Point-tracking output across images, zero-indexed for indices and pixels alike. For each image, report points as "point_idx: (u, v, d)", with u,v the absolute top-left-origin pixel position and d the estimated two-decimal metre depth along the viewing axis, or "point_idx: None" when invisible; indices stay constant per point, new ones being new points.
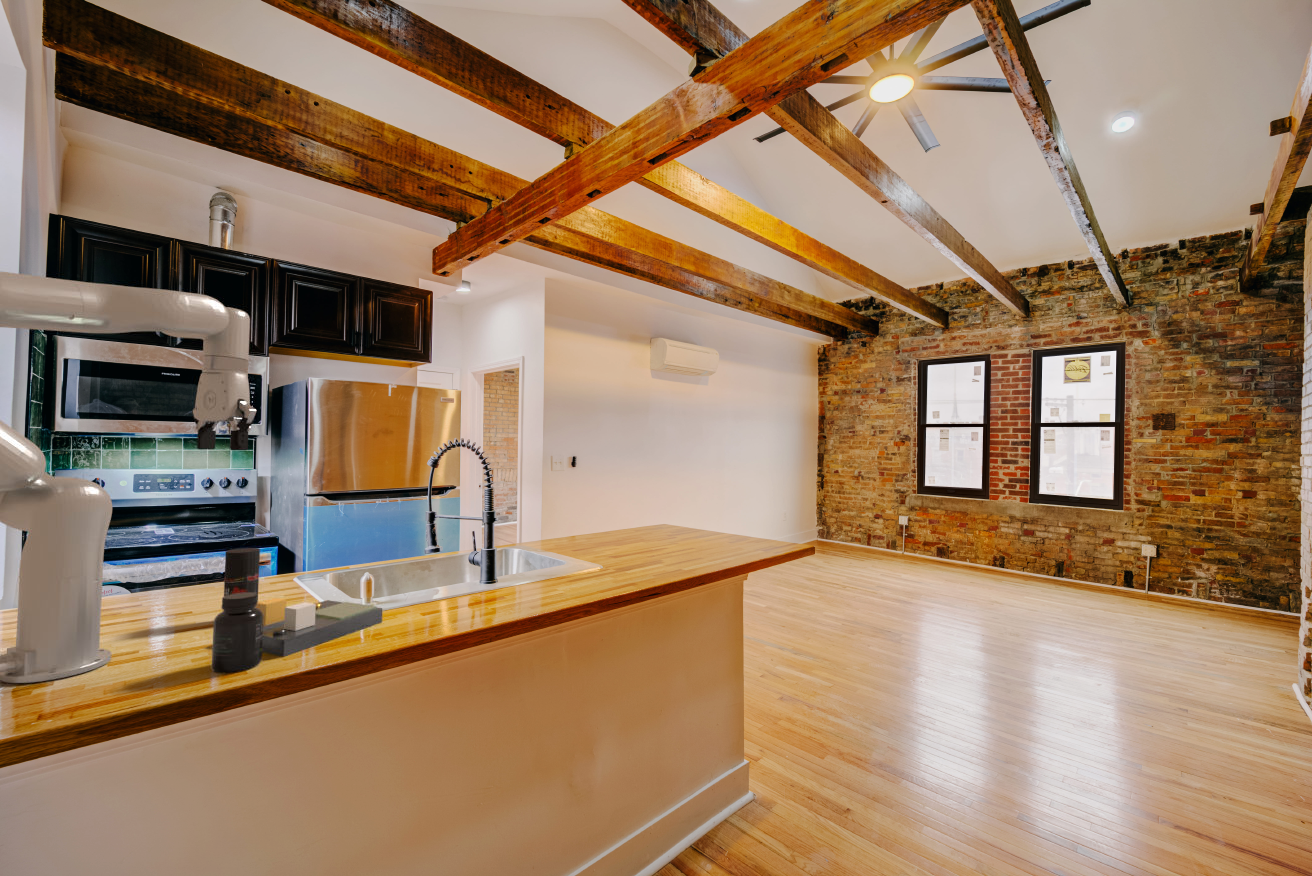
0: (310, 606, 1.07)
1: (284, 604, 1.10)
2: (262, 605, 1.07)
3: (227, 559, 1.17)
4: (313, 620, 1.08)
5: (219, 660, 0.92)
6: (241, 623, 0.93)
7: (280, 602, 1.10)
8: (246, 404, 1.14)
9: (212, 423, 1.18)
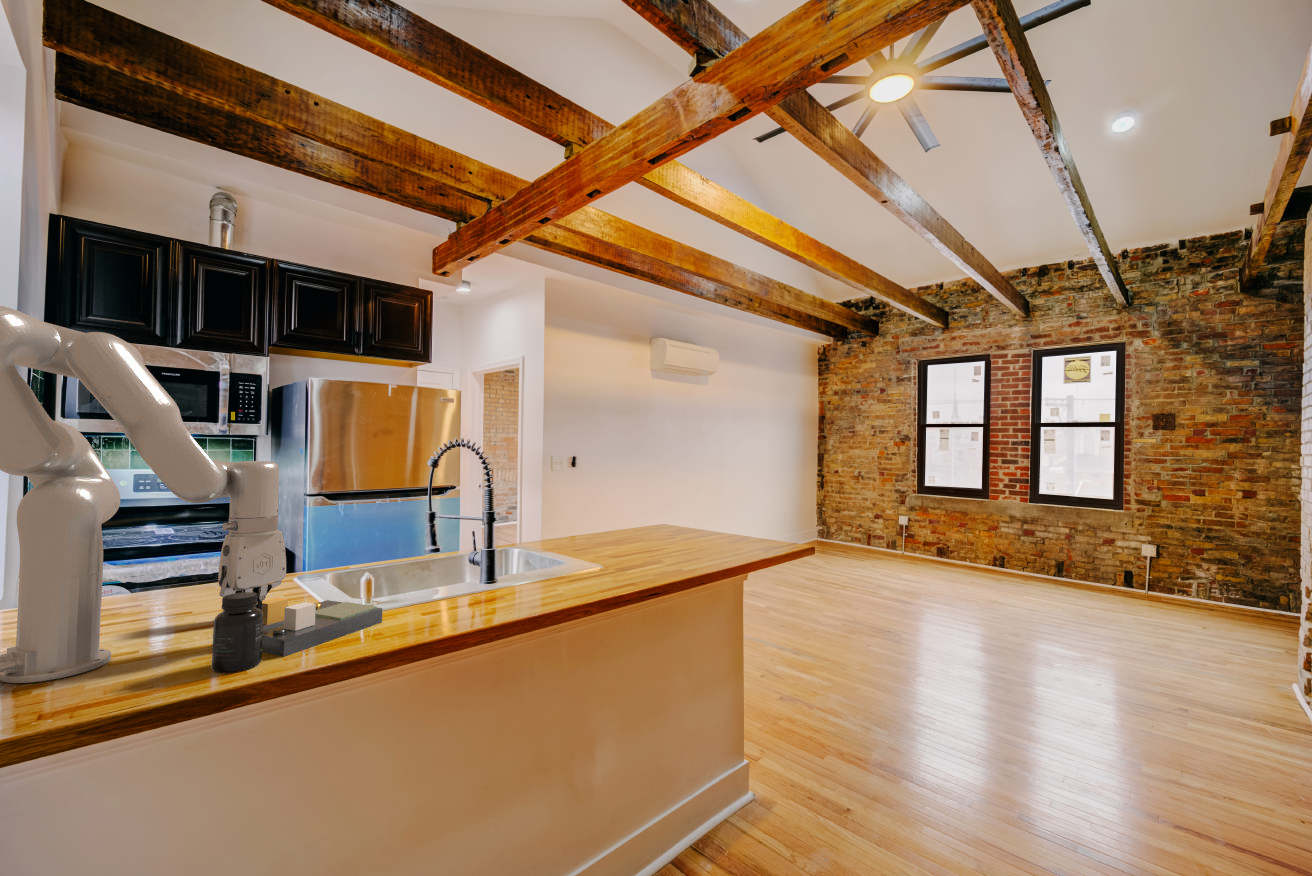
0: (310, 606, 1.07)
1: (286, 604, 1.11)
2: (264, 605, 1.08)
3: None
4: (313, 620, 1.08)
5: (219, 660, 0.92)
6: (241, 623, 0.93)
7: (282, 602, 1.10)
8: None
9: None
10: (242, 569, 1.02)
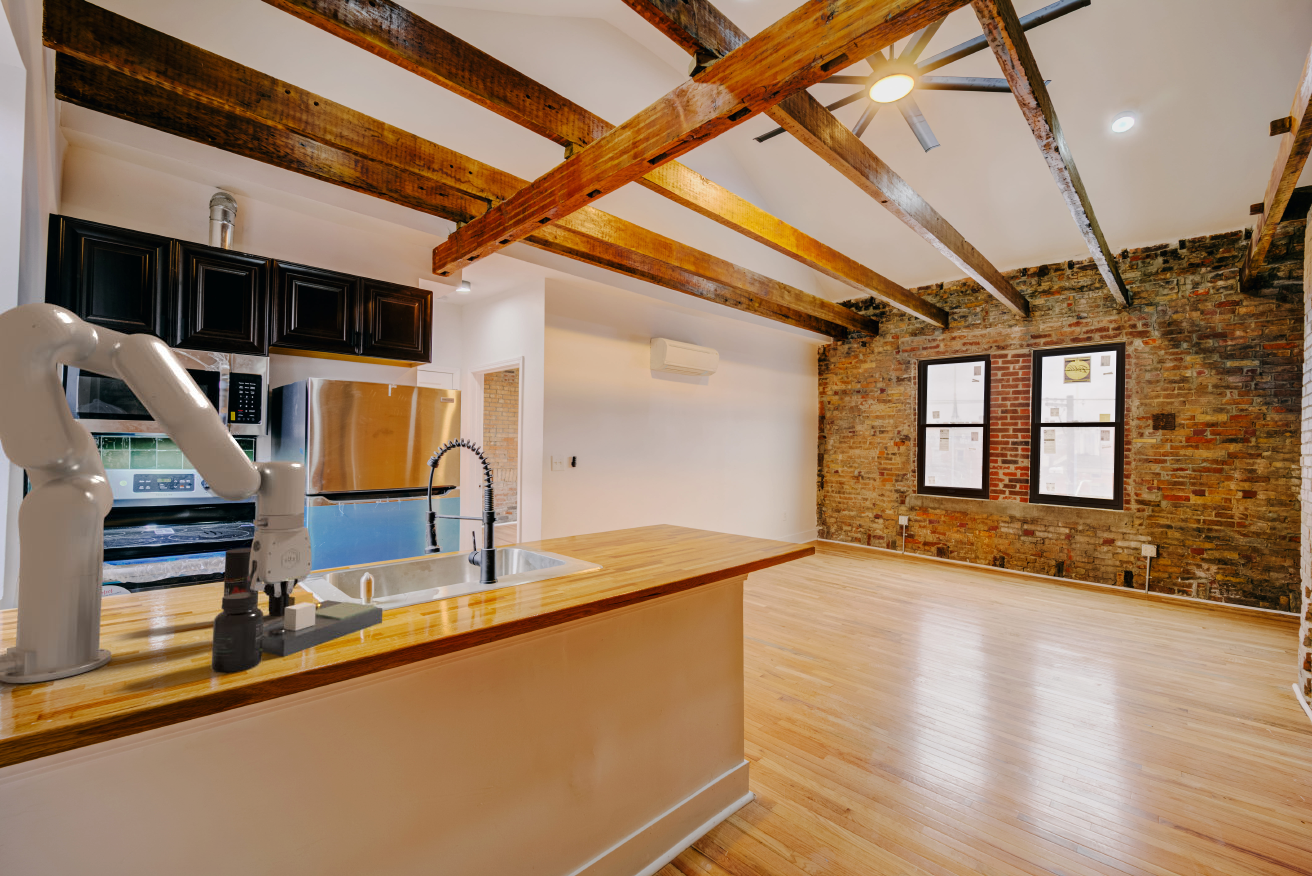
0: (310, 606, 1.07)
1: (311, 597, 1.16)
2: (291, 598, 1.13)
3: (227, 559, 1.17)
4: (313, 620, 1.08)
5: (219, 660, 0.92)
6: (241, 623, 0.93)
7: (308, 595, 1.15)
8: None
9: None
10: (272, 564, 1.07)
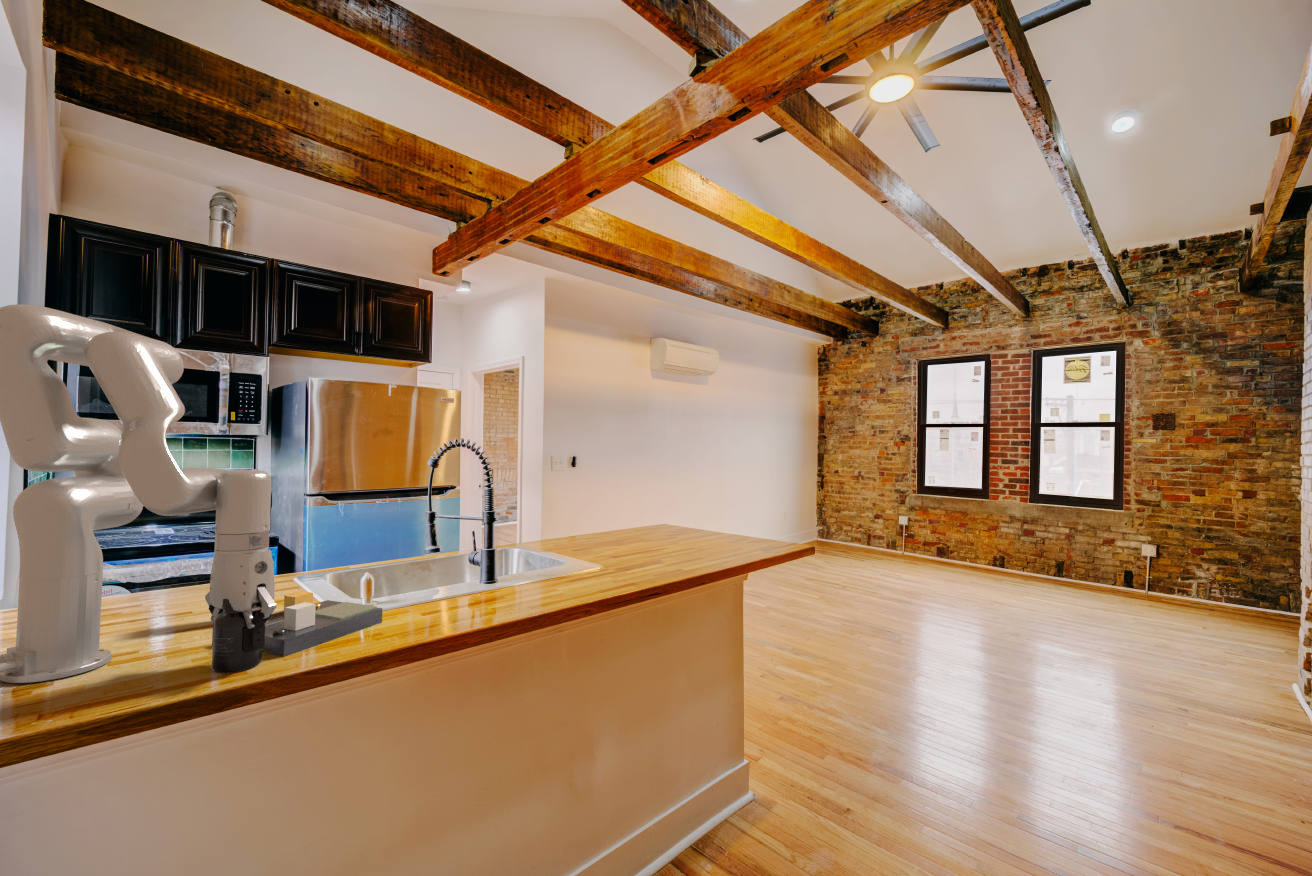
0: (310, 606, 1.07)
1: (311, 597, 1.16)
2: (291, 598, 1.13)
3: None
4: (313, 620, 1.08)
5: (219, 660, 0.92)
6: (241, 623, 0.93)
7: (308, 595, 1.15)
8: None
9: None
10: None
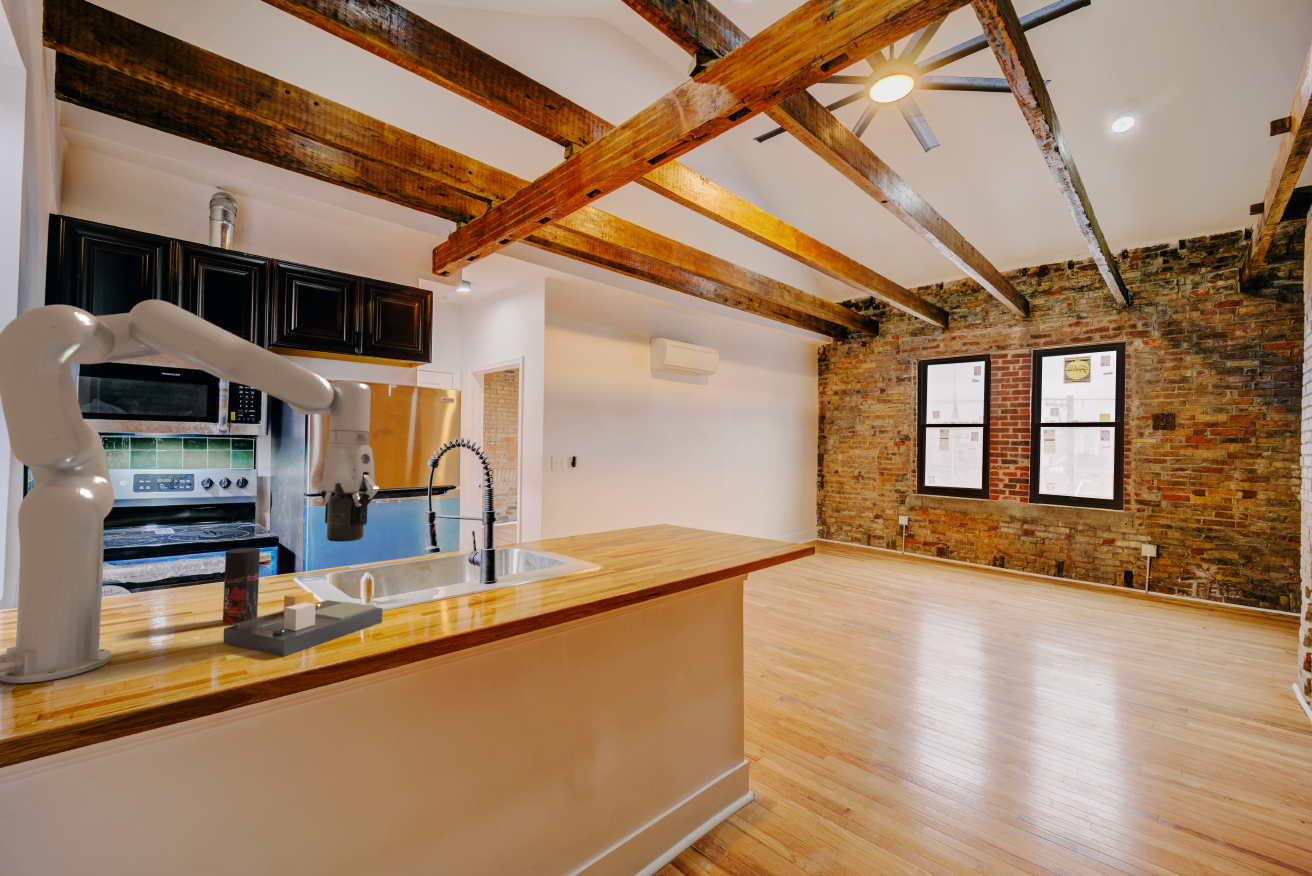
0: (310, 606, 1.07)
1: (311, 597, 1.16)
2: (291, 598, 1.13)
3: (227, 559, 1.17)
4: (313, 620, 1.08)
5: (333, 531, 1.14)
6: (350, 502, 1.15)
7: (308, 595, 1.15)
8: None
9: None
10: None
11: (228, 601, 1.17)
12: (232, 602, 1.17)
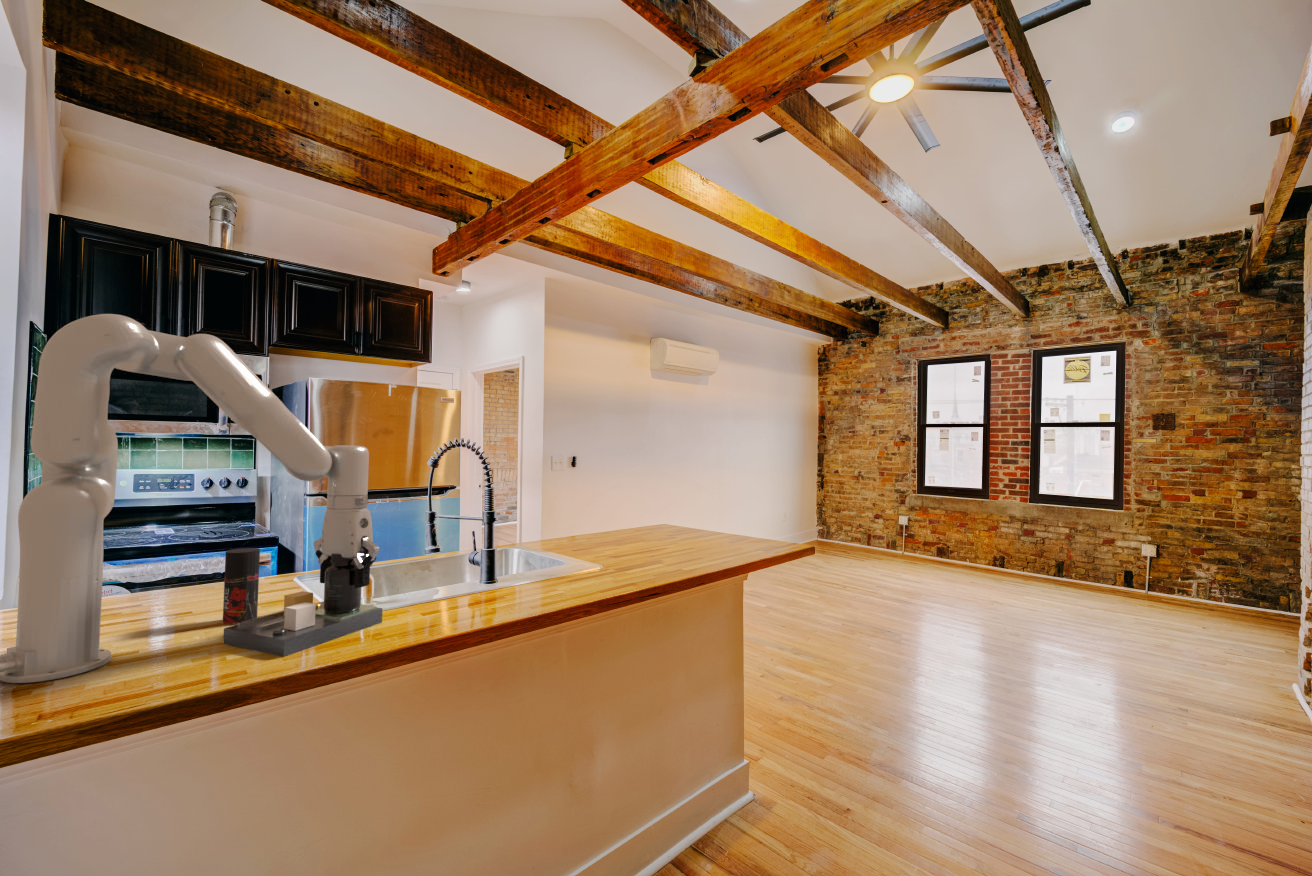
0: (310, 606, 1.07)
1: (311, 597, 1.16)
2: (291, 598, 1.13)
3: (227, 559, 1.17)
4: (313, 620, 1.08)
5: (330, 603, 1.14)
6: (347, 573, 1.15)
7: (308, 595, 1.15)
8: None
9: None
10: None
11: (228, 601, 1.17)
12: (232, 602, 1.17)
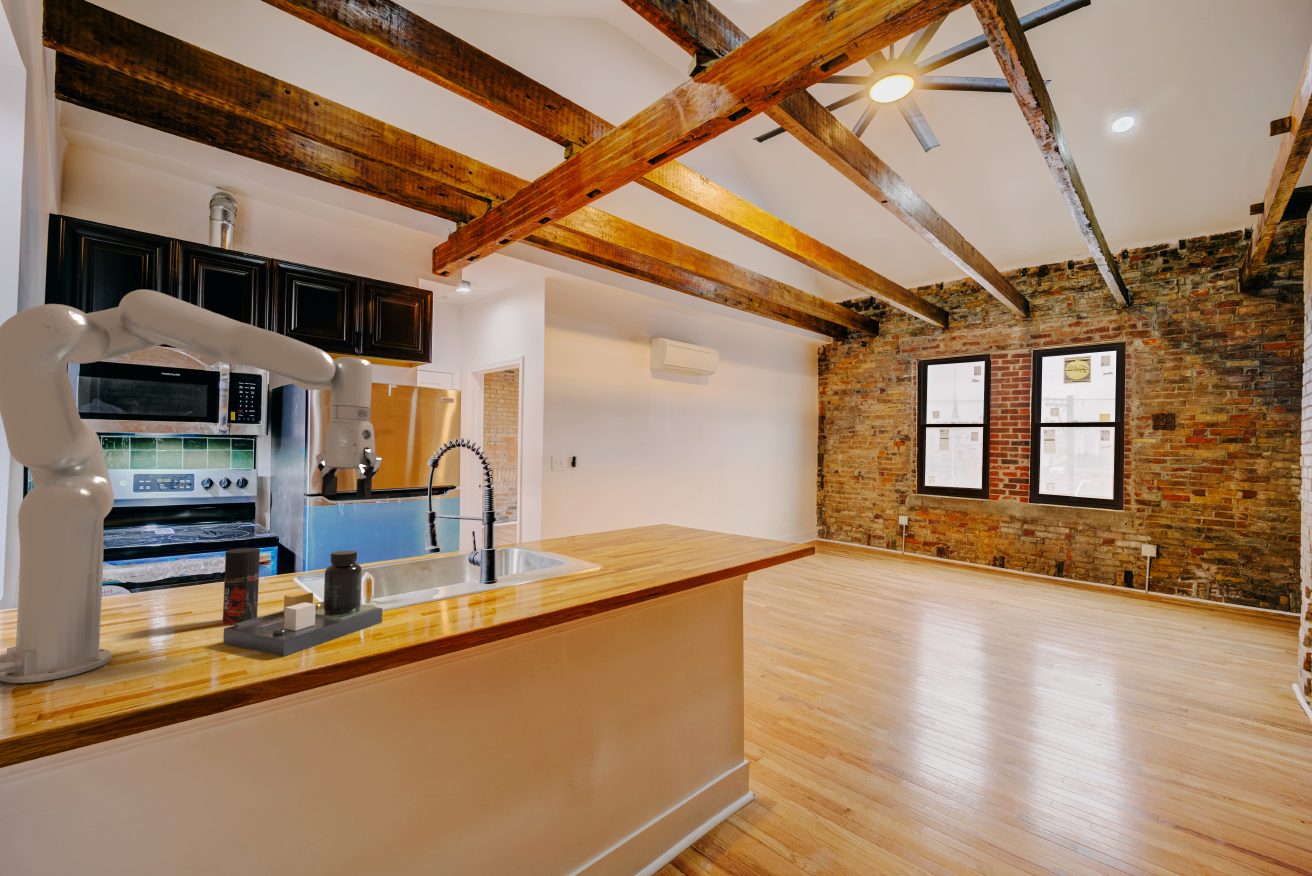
0: (310, 606, 1.07)
1: (311, 597, 1.16)
2: (291, 598, 1.13)
3: (227, 559, 1.17)
4: (313, 620, 1.08)
5: (330, 603, 1.14)
6: (347, 574, 1.15)
7: (308, 595, 1.15)
8: None
9: None
10: None
11: (228, 601, 1.17)
12: (232, 602, 1.17)
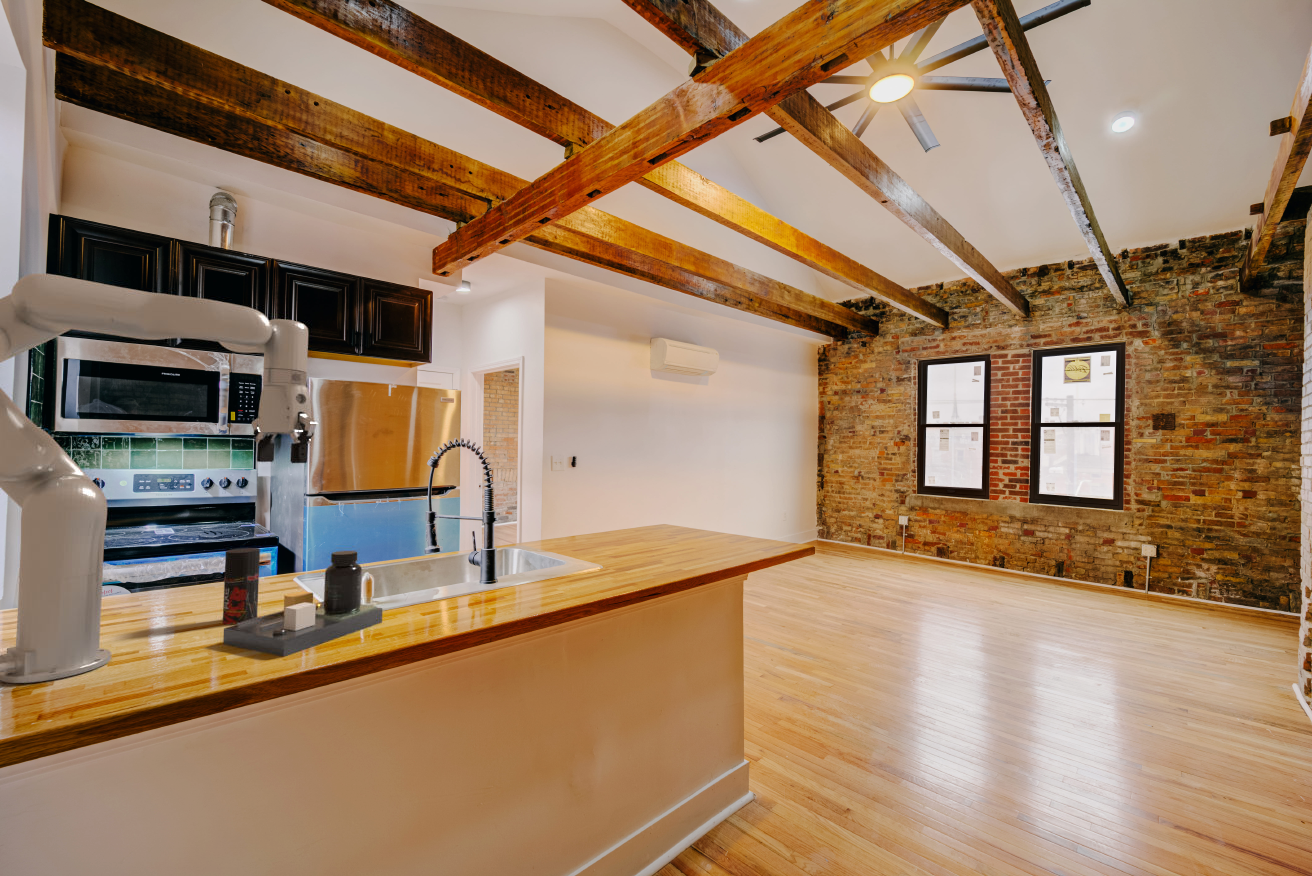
0: (310, 606, 1.07)
1: (311, 597, 1.16)
2: (291, 598, 1.13)
3: (227, 559, 1.17)
4: (313, 620, 1.08)
5: (330, 603, 1.14)
6: (347, 574, 1.15)
7: (308, 595, 1.15)
8: None
9: None
10: None
11: (228, 601, 1.17)
12: (232, 602, 1.17)
